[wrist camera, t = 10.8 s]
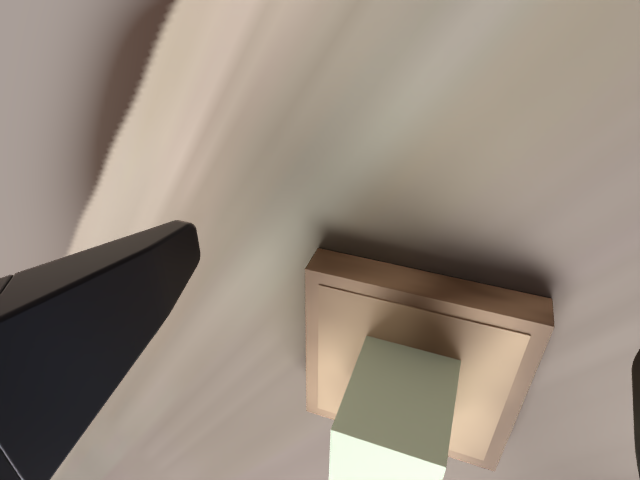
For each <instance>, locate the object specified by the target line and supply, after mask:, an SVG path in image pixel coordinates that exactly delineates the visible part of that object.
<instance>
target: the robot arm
mask: <svg viewBox="0 0 640 480" xmlns="http://www.w3.org/2000/svg"><path fill="white" fill-rule="evenodd" d="M199 260H200V248H199V242H198V236H197V230H196V227H195V226H194V224H192V223H189V222H184V221H180V220H175V221H172V222H169V223H166V224H163V225H160V226H157V227H154V228H151V229H148V230H145V231H142V232H139V233H136V234H133V235H130V236H126V237H123V238H120V239H117V240H114V241H111V242H108V243H105V244H102V245H99V246H96V247H93V248H90V249H87V250H84V251H81V252H78V253H75V254H72V255H69V256H66V257H63V258H60V259H57V260H54V261H51V262H48V263H45V264H42V265H39V266H36V267H33V268H30V269H27V270H24V271H21V272H18V273H15V274H14V275H8V276H5V277H2V278H0V480H50V479H51V477H52V476H53V475H54V473H55V472H56V471H57V469H58V468H59V466H60V465H61V464H62V462H63V461H64V460H65V458H66V457H67V455H68V454H69V453H70V451H71V450H72V448H73V447H74V446H75V444H76V443H77V442H78V440H79V439H80V437H81V436H82V435H83V433H84V432H85V431H86V429H87V428H88V426H89V425H90V424H91V422H92V421H93V420H94V418H95V417H96V415H97V414H98V413H99V411H100V410H101V408H102V407H103V406H104V404H105V403H106V402H107V400H108V399H109V397H110V396H111V395H112V393H113V392H114V391H115V389H116V388H117V386H118V385H119V384H120V382H121V381H122V379H123V378H124V377H125V375H126V374H127V373H128V371H129V370H130V368H131V367H132V366H133V364H134V363H135V362H136V360H137V359H138V357H139V356H140V355H141V353H142V352H143V350H144V349H145V348H146V346H147V345H148V344H149V342H150V341H151V339H152V338H153V337H154V335H155V334H156V333H157V331H158V330H159V328H160V327H161V326H162V324H163V323H164V321H165V320H166V318H167V317H168V315H169V314H170V312H171V310H172V309H173V307H174V305H175V304H176V302H177V300H178V298H179V297H180V295H181V293H182V291H183V290H184V288H185V286H186V284H187V283H188V281H189V279H190V277H191V276H192V274H193V272H194V270H195V269H196V267H197V265H198V263H199ZM632 390H633V415H634V439H635V452H636V459H637V466H638V472H639V478H640V349H639V351H638V353H637V355H636V356H635V358H634V361H633V365H632Z"/></svg>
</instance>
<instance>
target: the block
mask: <svg viewBox="0 0 640 480" xmlns="http://www.w3.org/2000/svg"><path fill="white" fill-rule="evenodd" d="M460 365H461V360H457V359H453V358H450V357H446V356H442V355H438V354H434V353H431V352H427V351H423V350H419V349H415V348H412V347H408V346H404V345H400V344H397V343H393V342H389V341H385V340H381V339H378V338H374V337H370V336H366V338H365V340H364V343H363V346H362V348H361V351H360V354H359V356H358V359H357V362H356V364H355V367H354V370H353V372H352V375H351V378H350V380H349V383H348V386H347V388H346V391H345V393H344V396H343V399H342V401H341V404H340V407H339V409H338V412H337V415H336V417H335V420H334V423H333V425H332V428H331V437H330V463H329V480H443V476H444V473H445V470H446V465H447V458H448V451H449V444H450V437H451V429H452V422H453V415H454V408H455V401H456V394H457V387H458V380H459V372H460Z"/></svg>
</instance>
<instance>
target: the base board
mask: <svg viewBox="0 0 640 480" xmlns="http://www.w3.org/2000/svg"><path fill="white" fill-rule="evenodd" d="M305 317H306V409H307V411H308V412H311V413H314V414H317V415H320V416H323V417H327V418H330V419H333V420H335V417H336V415H337V412H338V409H339V407H340V404H341V401H342V399H343V396H344V393H345V391H346V388H347V386H348V383H349V380H350V378H351V375H352V372H353V370H354V367H355V364H356V362H357V359H358V356H359V354H360V351H361V348H362V346H363V343H364V340H365V338H366V336H370V337H374V338H378V339H381V340H385V341H389V342H393V343H397V344H400V345H404V346H408V347H412V348H415V349H419V350H423V351H427V352H431V353H434V354H438V355H442V356H446V357H450V358H453V359H457V360H461V365H460V372H459V380H458V387H457V394H456V401H455V408H454V415H453V422H452V429H451V437H450V444H449V451H448V457H451V458H454V459H457V460H460V461H463V462H467V463H470V464H473V465H476V466H479V467H482V468H485V469H488V470H491V471H495V470H496V467H497V465H498V463H499V460H500V458H501V455H502V453H503V450H504V448H505V446H506V443H507V441H508V438H509V436H510V433H511V431H512V429H513V426H514V424H515V421H516V419H517V416H518V414H519V412H520V409H521V407H522V404H523V402H524V399H525V397H526V395H527V392H528V390H529V387H530V385H531V383H532V380H533V378H534V375H535V373H536V370H537V368H538V366H539V363H540V361H541V358H542V356H543V353H544V351H545V349H546V346H547V344H548V341H549V339H550V336H551V334H552V332H553V329H554V315H553V302H552V299H551V298H546V297H542V296H537V295H532V294H528V293H523V292H519V291H514V290H509V289H505V288H500V287H496V286H491V285H486V284H482V283H477V282H473V281H468V280H463V279H459V278H454V277H450V276H445V275H440V274H436V273H431V272H427V271H422V270H417V269H413V268H408V267H404V266H399V265H394V264H390V263H385V262H381V261H376V260H371V259H367V258H362V257H358V256H353V255H348V254H344V253H339V252H335V251H330V250H325V249H321V248H318V249H317V251H316V252H315V254H314V255H313V257H312V259H311V260H310V262H309V263H308V265H307V267H306V268H305Z"/></svg>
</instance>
